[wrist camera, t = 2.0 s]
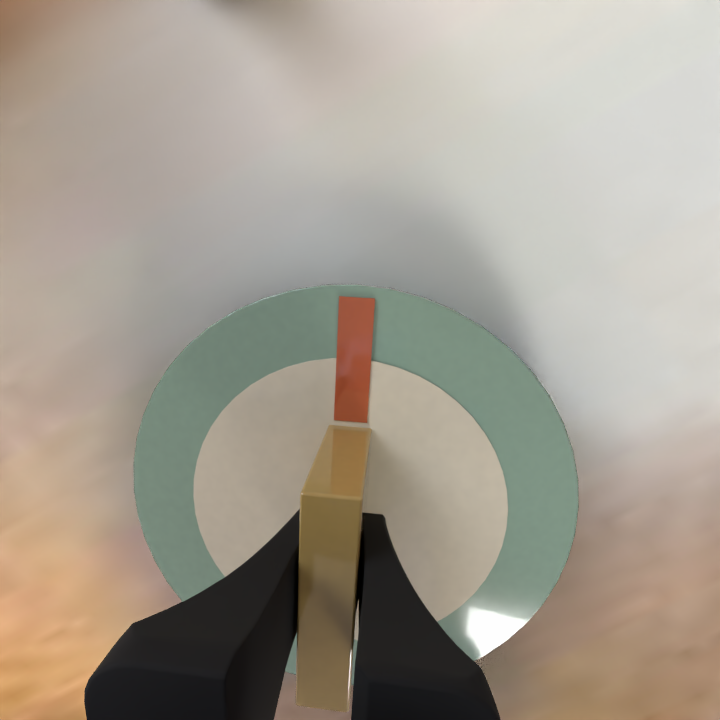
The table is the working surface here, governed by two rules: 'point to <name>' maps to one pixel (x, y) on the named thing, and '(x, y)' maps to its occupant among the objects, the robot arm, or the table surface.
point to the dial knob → (359, 466)
